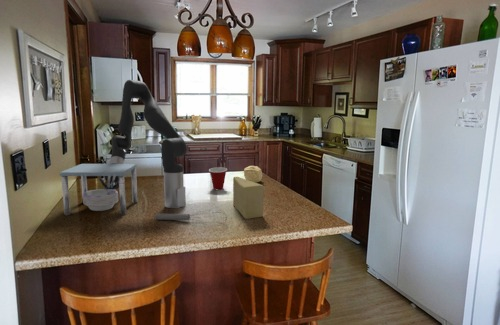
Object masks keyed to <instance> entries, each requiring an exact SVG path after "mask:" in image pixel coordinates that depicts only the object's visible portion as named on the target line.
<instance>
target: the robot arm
mask: <svg viewBox="0 0 500 325" xmlns="http://www.w3.org/2000/svg"><path fill="white" fill-rule="evenodd" d="M132 99H137V100H140V101H141V102H142V103H143V106H144V108H143V117H144V120H145V122H146V123H147V124H148V126H149V127H150V128H151V129H153V131H155V132H156V133H157V134H160V135H161V136H163V137H164V138H165V139H163V140H162V142H161V145H160V146H161V148H160V152H161V162H162V163H161V165H162V168H163V184H164V185H163V188H164V189H163V190H164V207H165V208H167V209H180V208H182V207H185V206H186V204H187V203H186V186H184V165H182V164H180V163H177V162H176V159H175V158H181V157H183V156H184V157H185V155H186V154H187V152H188V146H187V144H186V141H185V140H184V138H182V136H181V135H180V134H179V133H178V131H177V130H176V129H175V128H174V127H173V125H172V124H171V123H170V121H169V119H168V118H167V117H166V115H165V113H164V112H163V110H162V109H161V107H159V105H158V103H157V101H156V100H155V98H154V97H153V95H152V93H151V91H150V89H149V87H148V85H147V83H145V82H143V81H141V80H135V79H134V80H133V79H128V80H126V81H125V83H124V84H123V89H122V102H121V114H120V118H119V123H118V128H117V132H118V133H120V134H122V135H123V136H122V135H117V134H115V135H113V137H112V138H111V150H112V151H111V155H110V159H109V161H108V164H125V159H126V155H127V154H126V151H129V150H130V149H131V148H132V144H133V143H132V131H133V126H134V124H135V118H134V117H135V116H134V114H133V111H132V107H131V106H132V104H131V102H132ZM99 181H100V183H101V185H102V186H103V187H104V188H103V189H112V190H119V177H118V176H103V178H99ZM124 182H125V183H126V181H125V179H124ZM106 183H107V184H106Z"/></svg>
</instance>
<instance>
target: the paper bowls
mask: <svg viewBox="0 0 500 325" xmlns="http://www.w3.org/2000/svg"><path fill="white" fill-rule="evenodd" d="M118 202H119V192H118V190H117V189H114V190H112V189H105V188H99V189H90V190H87V192H85V193H83V199H82V203H83V205H84V206H87V207H88V209H89V210H91V211H94V212H99V211H100V212H103V211H108V210H111V209H112V208H113V207H114V206H115V204H117V203H118Z"/></svg>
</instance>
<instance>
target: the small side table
mask: <svg viewBox="0 0 500 325" xmlns="http://www.w3.org/2000/svg"><path fill="white" fill-rule="evenodd" d="M137 166H138V164H137V163H124V164H109V163H81V164H77V165H74V166H73V167H70V168H67V169H65V170H63V171H62V170H61V171H60V172H59V176H60V177H61V178H60V179H61V189H62V199H63V201H62V202H63V213H64V216H70V215H71V204H70V191H69V178H68V177H72V176H73V177H80V183H81V198H82V200H83V193H85V192H87V191H88V184H87V183H88V180H87V177H105V176H118V177H119V188H118V191H119V192H118V197H119V208H120V209H119V212H120V215H121V216H125V215H126V214H127V208H126V206H127V204H126V186H125V184H126V181H125V182H124V180H125V175H127V174H128V173H130V176H131V177H130V178H131V180H130V181H131V196H132V200H131V201H132V203H133V204H137V203H138V185H137V184H138V182H137Z"/></svg>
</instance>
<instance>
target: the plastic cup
mask: <svg viewBox="0 0 500 325" xmlns="http://www.w3.org/2000/svg"><path fill="white" fill-rule="evenodd" d="M227 171H228V168H227V167H220V166H218V167H212V168H209V169H208V172H209V174H210V178H211V179H210V180H211V183H212V188H213V189H214V190H216V189H220V190H223V189H224V184H225V181H226V174H227Z"/></svg>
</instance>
